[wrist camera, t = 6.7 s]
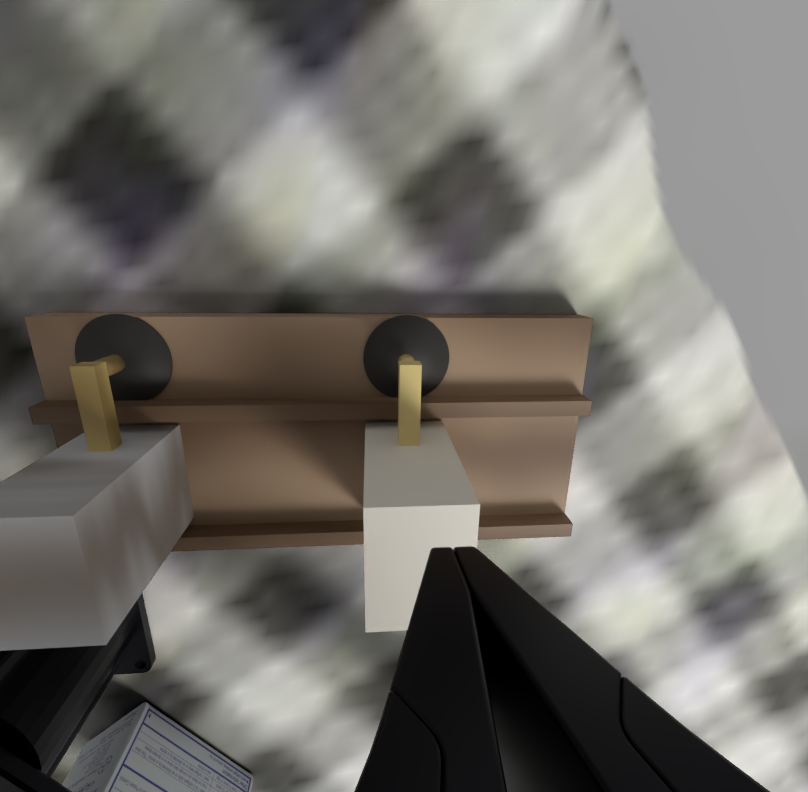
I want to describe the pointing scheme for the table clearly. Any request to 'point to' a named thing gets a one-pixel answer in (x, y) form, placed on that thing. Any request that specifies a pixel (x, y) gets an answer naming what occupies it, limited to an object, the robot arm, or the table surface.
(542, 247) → the table surface
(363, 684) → the table surface
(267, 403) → the wooden peg rack
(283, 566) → the table surface
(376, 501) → the slider
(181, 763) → the medicine box
